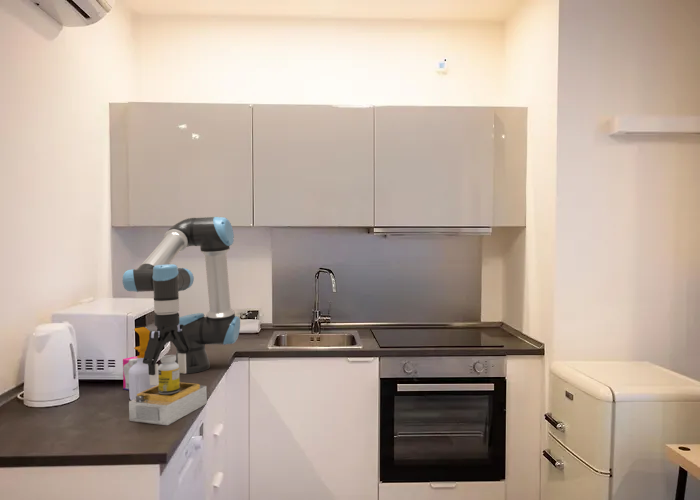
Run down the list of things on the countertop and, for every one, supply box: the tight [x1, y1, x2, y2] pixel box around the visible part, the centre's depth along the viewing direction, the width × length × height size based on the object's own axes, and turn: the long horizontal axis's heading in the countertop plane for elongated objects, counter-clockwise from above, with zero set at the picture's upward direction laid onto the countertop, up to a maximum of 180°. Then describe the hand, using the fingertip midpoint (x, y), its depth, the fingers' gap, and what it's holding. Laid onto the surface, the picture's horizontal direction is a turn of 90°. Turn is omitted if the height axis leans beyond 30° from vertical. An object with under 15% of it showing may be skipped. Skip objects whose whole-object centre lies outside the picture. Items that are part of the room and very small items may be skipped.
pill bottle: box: [158, 354, 181, 395], centre depth 160 cm, size 6×6×12 cm
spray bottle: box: [128, 326, 157, 401], centre depth 175 cm, size 9×9×25 cm
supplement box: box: [122, 355, 138, 391], centre depth 186 cm, size 6×6×12 cm
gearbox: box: [128, 381, 208, 426], centre depth 160 cm, size 20×14×8 cm
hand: (168, 378), depth 160 cm, fingers open, 13 cm apart
